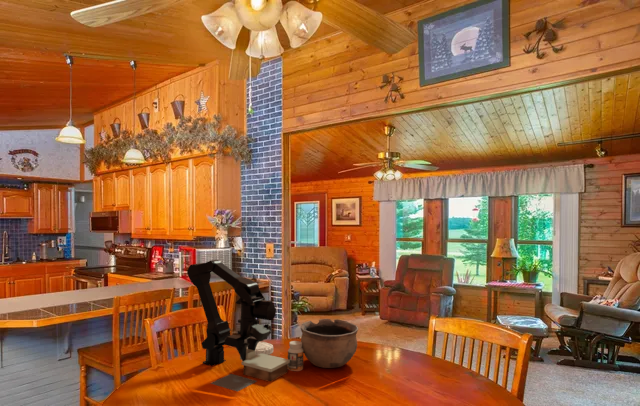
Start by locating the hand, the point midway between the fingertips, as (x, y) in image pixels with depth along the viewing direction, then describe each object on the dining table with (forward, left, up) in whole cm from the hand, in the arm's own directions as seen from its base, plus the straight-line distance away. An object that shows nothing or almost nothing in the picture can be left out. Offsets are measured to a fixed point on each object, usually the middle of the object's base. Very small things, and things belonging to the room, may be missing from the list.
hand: (247, 359), depth 154 cm
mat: (+5, -12, -4) cm, 13 cm away
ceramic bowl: (+23, +21, -4) cm, 31 cm away
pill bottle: (+15, +10, -4) cm, 18 cm away
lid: (+7, 0, -1) cm, 7 cm away
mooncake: (-8, +17, -4) cm, 19 cm away
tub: (+9, 0, -4) cm, 9 cm away
